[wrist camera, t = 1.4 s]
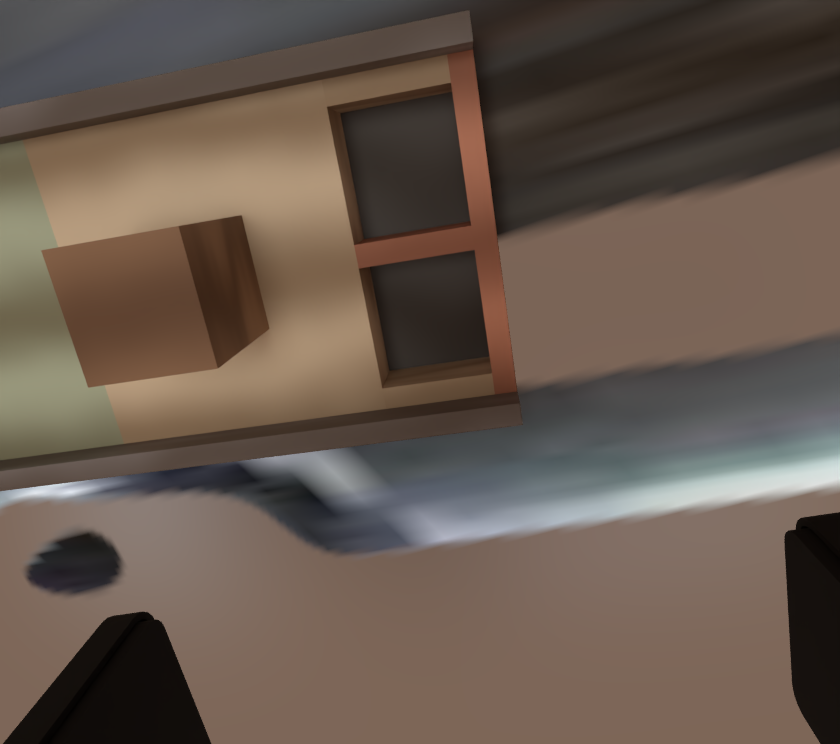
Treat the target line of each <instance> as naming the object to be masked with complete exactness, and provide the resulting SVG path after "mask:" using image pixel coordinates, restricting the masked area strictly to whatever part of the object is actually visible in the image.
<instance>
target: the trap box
mask: <svg viewBox="0 0 840 744" xmlns="http://www.w3.org/2000/svg"><path fill="white" fill-rule="evenodd" d="M239 215H242V219H243V223H244V227H245V231H246V235H247V239H248V243H249V247H250V251H251V255H252V259H253V263H254V267H255V272H256V276H257V280H258V284H259V288H260V292H261V296H262V300H263V304H264V308H265V312H266V316H267V320H268V324H269V328H270V329H269V330H267V331H266V332H265V333H263V334H262V335H261V336H260V337H258V338H257V339H256V340H254V341H253V342H252V343H251V344H249V345H248V346H247V347H245V348H244V349H243V350H241V351H240V352H239V353H238V354H236V355H235V356H234V357H232V358H231V359H230V360H229V361H227V362H226V363H225V364H223V365H222V366H221V367H219V368H218V369H213V370H206V371H199V372H192V373H185V374H179V375H172V376H165V377H158V378H151V379H144V380H137V381H131V382H124V383H117V384H110V385H103V386H96V387H90V388H88V386H87V383H86V380H85V377H84V374H83V371H82V368H81V365H80V362H79V359H78V357H77V354H76V351H75V348H74V345H73V342H72V339H71V336H70V333H69V330H68V327H67V325H66V322H65V319H64V316H63V313H62V310H61V307H60V304H59V301H58V298H57V295H56V293H55V290H54V287H53V284H52V281H51V278H50V275H49V272H48V269H47V266H46V263H45V260H44V258H43V255H42V252H41V250H46V249H52V248H57V247H63V246H69V245H74V244H80V243H85V242H91V241H97V240H102V239H108V238H114V237H119V236H125V235H131V234H136V233H142V232H148V231H153V230H159V229H165V228H170V227H176V226H182V225H187V224H193V223H199V222H205V221H210V220H216V219H222V218H228V217H233V216H239ZM518 425H523V423H522V415H521V407H520V401H519V397H518V392H517V386H516V379H515V370H514V362H513V355H512V347H511V340H510V332H509V325H508V317H507V309H506V301H505V293H504V285H503V278H502V270H501V263H500V255H499V247H498V239H497V232H496V224H495V216H494V208H493V201H492V193H491V185H490V178H489V170H488V162H487V155H486V147H485V139H484V131H483V124H482V116H481V108H480V101H479V93H478V85H477V78H476V70H475V62H474V54H473V36H472V28H471V21H470V13H469V10H467V11H463V12H458V13H453V14H448V15H444V16H439V17H434V18H429V19H424V20H420V21H415V22H410V23H405V24H400V25H396V26H391V27H386V28H381V29H377V30H372V31H367V32H362V33H357V34H353V35H348V36H343V37H338V38H334V39H329V40H324V41H319V42H314V43H310V44H305V45H300V46H295V47H290V48H286V49H281V50H276V51H271V52H267V53H262V54H257V55H252V56H247V57H243V58H238V59H233V60H228V61H224V62H219V63H214V64H209V65H204V66H200V67H195V68H190V69H185V70H181V71H176V72H171V73H166V74H161V75H157V76H152V77H147V78H142V79H137V80H133V81H128V82H123V83H118V84H114V85H109V86H104V87H99V88H94V89H90V90H85V91H80V92H75V93H71V94H66V95H61V96H56V97H51V98H47V99H42V100H37V101H32V102H27V103H23V104H18V105H13V106H8V107H4V108H0V491H5V490H13V489H21V488H28V487H36V486H44V485H52V484H60V483H68V482H76V481H84V480H92V479H99V478H107V477H115V476H123V475H131V474H139V473H147V472H155V471H163V470H170V469H178V468H186V467H194V466H202V465H210V464H218V463H226V462H234V461H242V460H249V459H257V458H265V457H273V456H281V455H289V454H297V453H305V452H313V451H320V450H328V449H336V448H344V447H352V446H360V445H368V444H376V443H384V442H392V441H399V440H407V439H415V438H423V437H431V436H439V435H447V434H455V433H463V432H470V431H478V430H486V429H494V428H502V427H510V426H518Z"/></svg>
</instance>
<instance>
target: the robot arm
mask: <svg viewBox="0 0 840 744" xmlns="http://www.w3.org/2000/svg"><path fill="white" fill-rule="evenodd" d="M785 559H786V577H787V595H788V613H789V614H788V615H789V633H790V651H791V670H792V685H793V691H794V695H795V698H796V701H797V704H798V706H799V708H800V710H801V712H802V714H803V716H804V718H805V719H806V721H807V723H808V724H809V726H810V727H811V729H812V731H813V732H814V734H815V735H816V737H817V739H818V740H819V742H820V744H840V512H839V513H832V514H825V515H818V516H811V517H804V518H800V519H799V520H798V521H797V524H796V530H790V531H788V532H786V534H785ZM3 744H211V742H210V739H209V737H208V735H207V732H206V729H205V727H204V725H203V722H202V720H201V717H200V715H199V712H198V710H197V707H196V705H195V702H194V700H193V697H192V695H191V692H190V690H189V687H188V685H187V682H186V680H185V677H184V675H183V672H182V670H181V667H180V665H179V662H178V660H177V657H176V655H175V652H174V650H173V647H172V645H171V642H170V640H169V637H168V635H167V632H166V630H165V627H164V626H163V624H162V622H160V621H159V620H154V618H153V616H152V615H150V614H149V613H148V612H137V613H130V614H124V615H116V616H112V617H109V618H107V619H106V620H105V621H103V622H102V623H101V625H100V626H99V627H98V628H97V629H96V631H95V632H94V633H93V635H92V636H91V637H90V638H89V639H88V640H87V642H86V643H85V644H84V645H83V647H82V648H81V649H80V650H79V651H78V653H77V654H76V655H75V656H74V658H73V659H72V660H71V661H70V662H69V664H68V665H67V666H66V667H65V669H64V670H63V671H62V672H61V673H60V675H59V676H58V677H57V678H56V680H55V681H54V682H53V683H52V684H51V686H50V687H49V688H48V690H47V691H46V692H45V693H44V694H43V695H42V697H41V698H40V699H39V700H38V702H37V703H36V704H35V705H34V707H33V708H32V709H31V710H30V711H29V713H28V714H27V715H26V716H25V718H24V719H23V720H22V721H21V722H20V724H19V725H18V726H17V727H16V728H15V730H14V731H13V732H12V733H11V735H10V736H9V737H8V739H7V740H6V741H5V742H4V743H3Z"/></svg>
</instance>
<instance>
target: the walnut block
mask: <svg viewBox="0 0 840 744" xmlns="http://www.w3.org/2000/svg"><path fill="white" fill-rule="evenodd" d="M41 252H42V255H43V258H44V260H45V263H46V266H47V269H48V272H49V275H50V278H51V281H52V284H53V287H54V290H55V293H56V295H57V298H58V301H59V304H60V307H61V310H62V313H63V316H64V319H65V322H66V325H67V327H68V330H69V333H70V336H71V339H72V342H73V345H74V348H75V351H76V354H77V357H78V359H79V362H80V365H81V368H82V371H83V374H84V377H85V380H86V383H87V386H88V388H90V387H96V386H103V385H110V384H117V383H124V382H131V381H137V380H144V379H151V378H158V377H165V376H172V375H179V374H185V373H192V372H199V371H206V370H213V369H218V368H219V367H221V366H222V365H223V364H225V363H226V362H227V361H229V360H230V359H231V358H232V357H234V356H235V355H236V354H238V353H239V352H240V351H241V350H243V349H244V348H245V347H247V346H248V345H249V344H251V343H252V342H253V341H254V340H256V339H257V338H258V337H260V336H261V335H262V334H263V333H265V332H266V331H267V330H269V329H270V328H269V324H268V320H267V316H266V312H265V308H264V304H263V300H262V296H261V292H260V288H259V284H258V280H257V276H256V272H255V267H254V263H253V259H252V255H251V251H250V247H249V243H248V239H247V235H246V231H245V227H244V223H243V219H242V215H239V216H233V217H228V218H222V219H216V220H210V221H205V222H199V223H193V224H187V225H182V226H176V227H170V228H165V229H159V230H153V231H148V232H142V233H136V234H131V235H125V236H119V237H114V238H108V239H102V240H97V241H91V242H85V243H80V244H74V245H69V246H63V247H57V248H52V249H46V250H41Z"/></svg>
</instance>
